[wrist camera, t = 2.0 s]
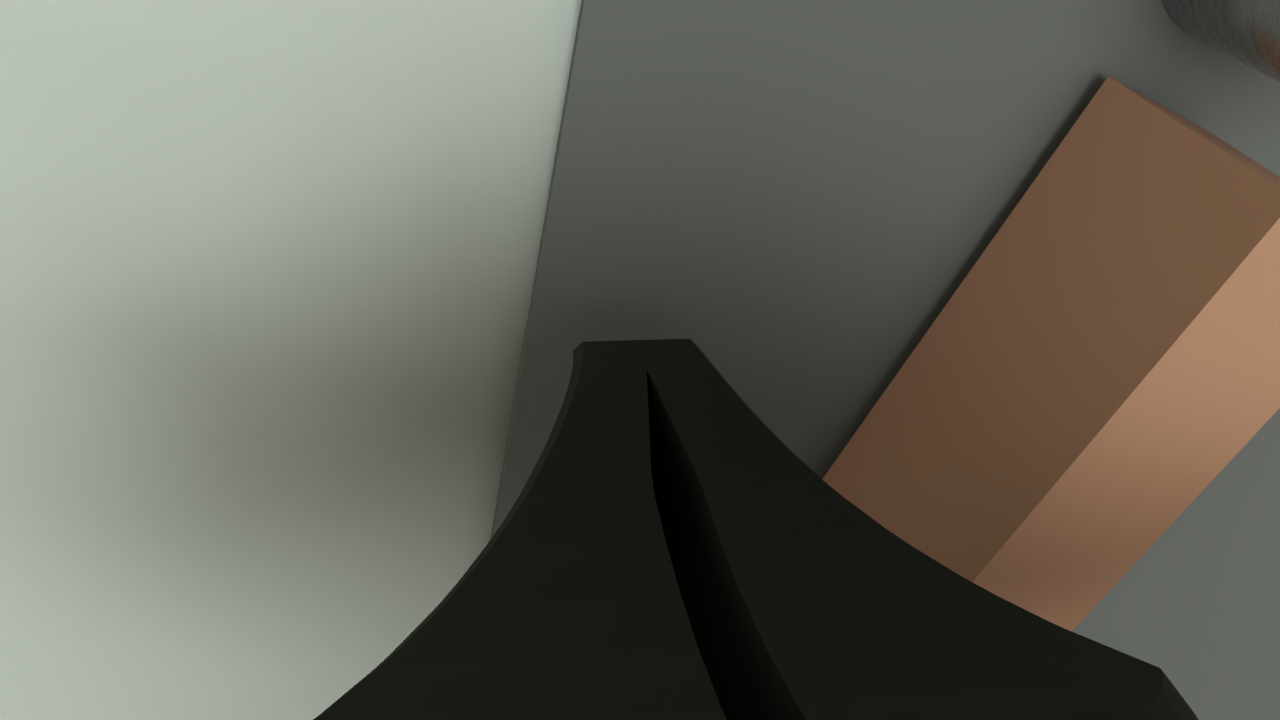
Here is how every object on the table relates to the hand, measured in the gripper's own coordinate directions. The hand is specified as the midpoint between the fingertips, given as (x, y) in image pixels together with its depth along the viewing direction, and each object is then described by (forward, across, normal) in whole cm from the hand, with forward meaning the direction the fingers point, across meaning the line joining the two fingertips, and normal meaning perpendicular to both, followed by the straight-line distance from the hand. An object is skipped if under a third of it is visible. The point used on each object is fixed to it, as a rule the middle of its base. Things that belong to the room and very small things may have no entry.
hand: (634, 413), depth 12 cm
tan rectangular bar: (+2, -4, +2) cm, 5 cm away
